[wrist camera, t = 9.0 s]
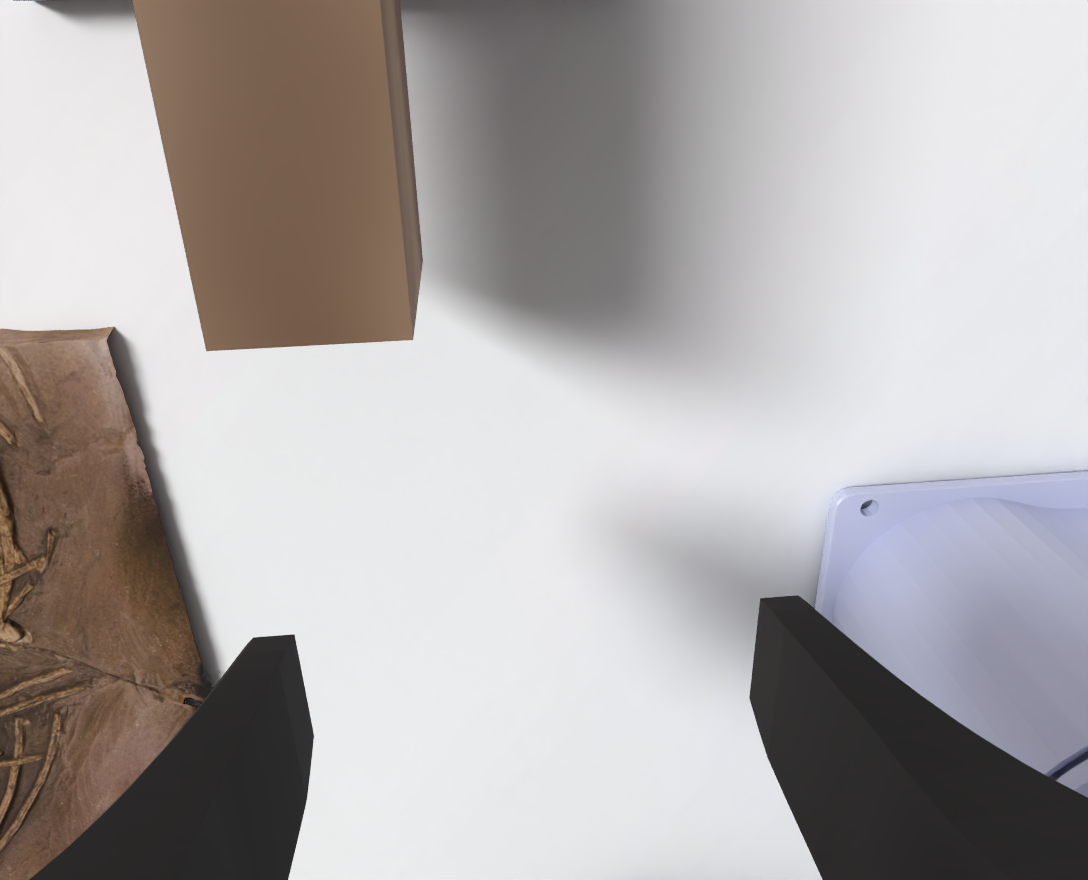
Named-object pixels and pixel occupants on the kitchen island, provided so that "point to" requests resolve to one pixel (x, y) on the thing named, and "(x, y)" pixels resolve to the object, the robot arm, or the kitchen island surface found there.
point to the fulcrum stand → (28, 0)
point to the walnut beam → (289, 166)
